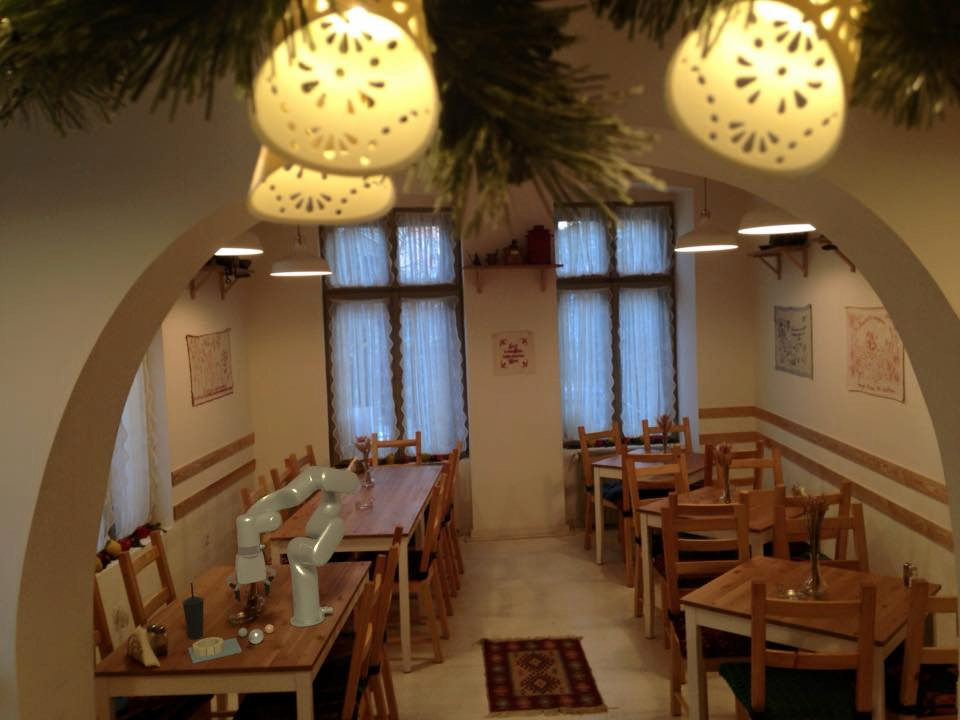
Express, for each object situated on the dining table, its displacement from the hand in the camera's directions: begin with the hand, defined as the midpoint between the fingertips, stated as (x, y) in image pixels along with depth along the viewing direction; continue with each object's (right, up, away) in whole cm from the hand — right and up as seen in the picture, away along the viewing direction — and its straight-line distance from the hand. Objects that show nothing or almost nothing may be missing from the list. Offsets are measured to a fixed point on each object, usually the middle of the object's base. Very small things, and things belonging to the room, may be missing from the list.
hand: (252, 597), depth 290 cm
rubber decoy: (-6, -15, +8) cm, 17 cm away
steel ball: (+1, -14, +1) cm, 14 cm away
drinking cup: (-23, -17, +10) cm, 31 cm away
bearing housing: (-12, -17, -4) cm, 21 cm away
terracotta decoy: (+3, -14, +10) cm, 17 cm away
